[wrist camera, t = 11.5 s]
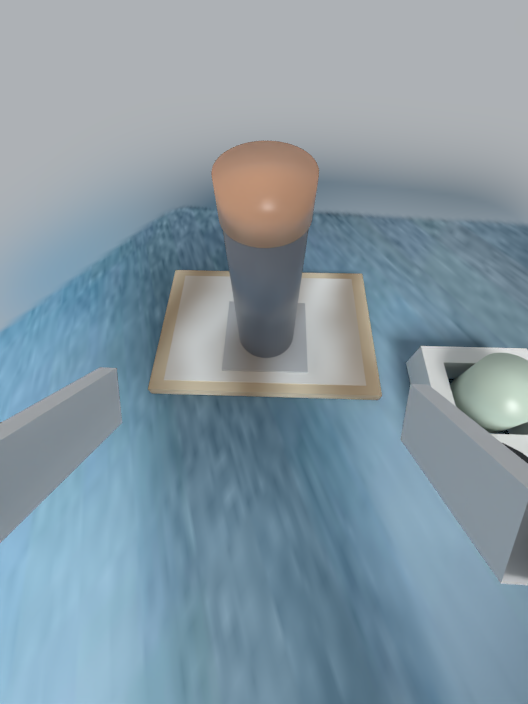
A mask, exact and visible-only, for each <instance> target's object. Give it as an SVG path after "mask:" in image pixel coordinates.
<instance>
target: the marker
mask: <svg viewBox="0 0 528 704" xmlns="http://www.w3.org/2000/svg"><path fill="white" fill-rule="evenodd" d="M318 177H319V168H318V165H317V163H316V161H315V160H314V158H313V157H312V156H311V155H310V154H308V153H307V152H306V151H304V150H303V149H301V148H299V147H297V146H294V145H291V144H288V143H283V142H278V141H254V142H248V143H244V144H241V145H238V146H235V147H233V148H231V149H229V150H227V151H226V152H224V153H223V154H222V155H221V156H220V157H218V159H217V160H216V161H215V163H214V165H213V167H212V180H213V186H214V192H215V198H216V205H217V211H218V217H219V223H220V226H221V228H222V229H223V234H224V240H225V247H226V253H227V260H228V266H229V272H230V279H231V285H232V292H233V298H234V304H235V311H236V317H237V324H238V330H239V336H240V341H241V344H242V346H243V347H244V348H245V349H246V351H248V352H249V353H250V354H252V355H254V356H257V357H261V358H271V357H276V356H278V355H280V354H282V353H284V352H285V351H286V350H287V349H288V348H289V347H290V345H291V343H292V340H293V334H294V327H295V320H296V313H297V306H298V299H299V292H300V285H301V278H302V271H303V264H304V257H305V250H306V243H307V236H308V229H309V227H310V225H311V222H312V217H313V210H314V203H315V197H316V190H317V184H318Z"/></svg>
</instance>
